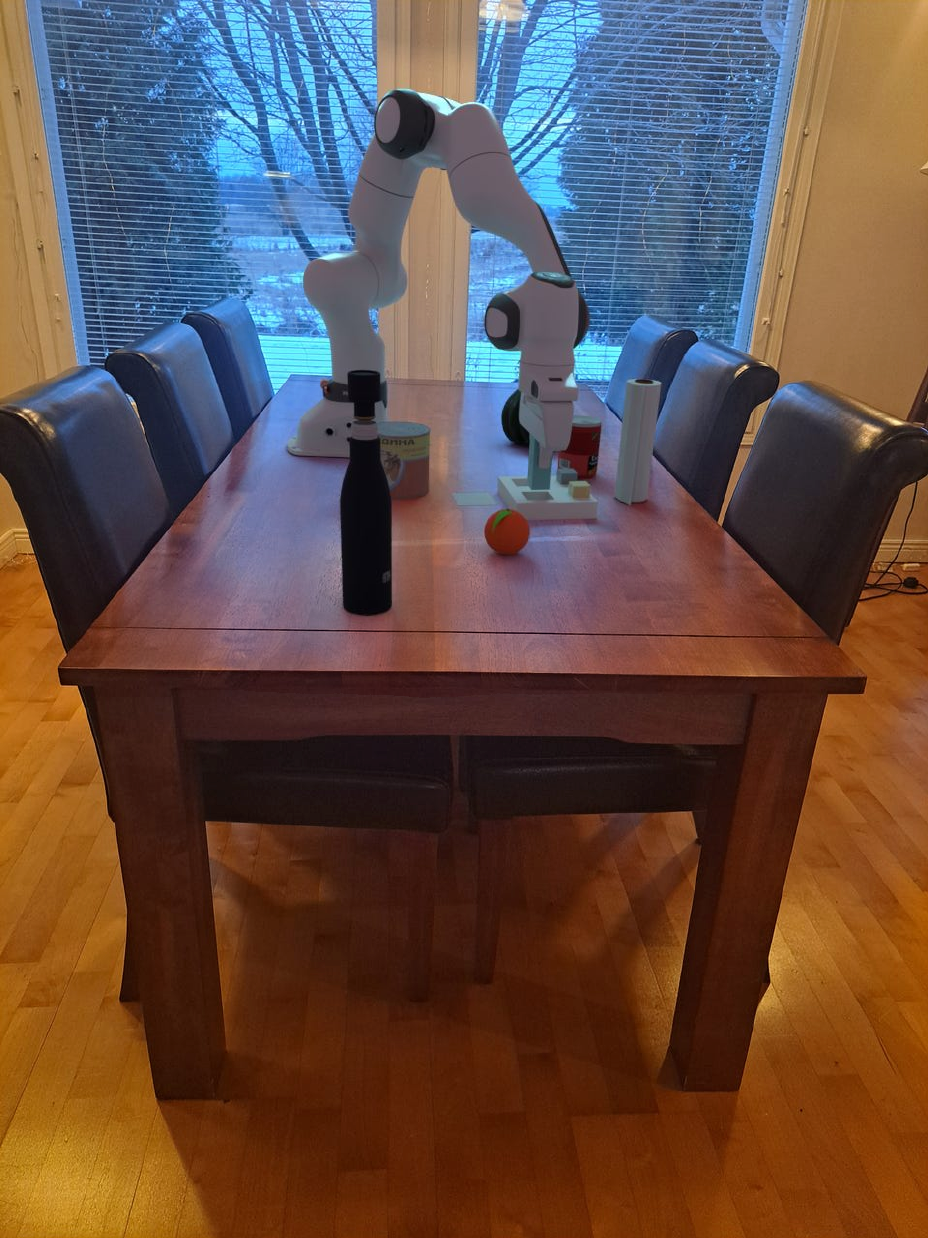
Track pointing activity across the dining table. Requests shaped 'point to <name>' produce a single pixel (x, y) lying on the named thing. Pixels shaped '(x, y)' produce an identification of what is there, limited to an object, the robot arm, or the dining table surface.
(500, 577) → the dining table surface
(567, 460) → the canned food
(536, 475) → the plug
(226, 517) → the dining table surface
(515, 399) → the squash
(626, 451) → the paper towel roll
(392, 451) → the canned food
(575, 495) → the block
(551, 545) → the dining table surface
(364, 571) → the insulated water bottle
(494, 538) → the clementine
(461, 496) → the mat
